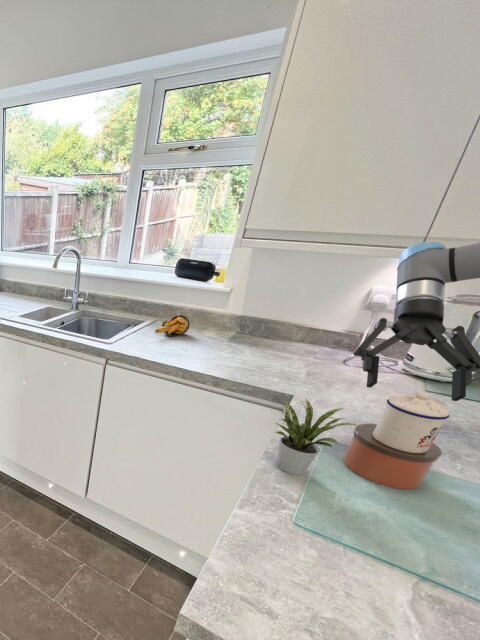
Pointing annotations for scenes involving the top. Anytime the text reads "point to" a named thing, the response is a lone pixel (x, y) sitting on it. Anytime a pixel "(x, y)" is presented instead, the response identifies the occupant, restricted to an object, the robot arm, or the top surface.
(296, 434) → the house plant
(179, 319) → the fried shrimp in bowl
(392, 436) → the teacup with lid
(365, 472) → the storage jar
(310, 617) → the top surface
